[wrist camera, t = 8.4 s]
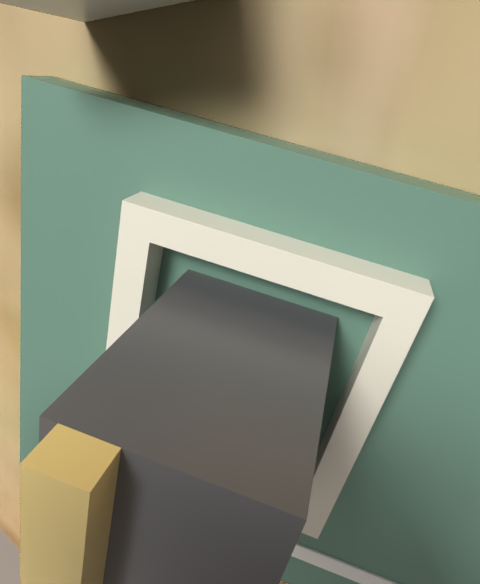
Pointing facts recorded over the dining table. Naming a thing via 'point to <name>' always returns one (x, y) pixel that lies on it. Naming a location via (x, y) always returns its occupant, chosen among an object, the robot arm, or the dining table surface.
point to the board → (281, 284)
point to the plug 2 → (182, 446)
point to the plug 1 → (90, 7)
